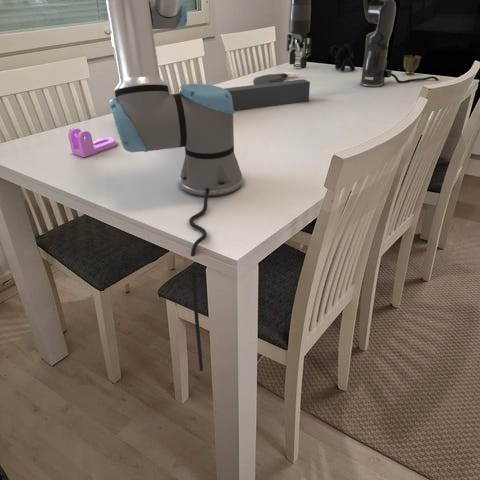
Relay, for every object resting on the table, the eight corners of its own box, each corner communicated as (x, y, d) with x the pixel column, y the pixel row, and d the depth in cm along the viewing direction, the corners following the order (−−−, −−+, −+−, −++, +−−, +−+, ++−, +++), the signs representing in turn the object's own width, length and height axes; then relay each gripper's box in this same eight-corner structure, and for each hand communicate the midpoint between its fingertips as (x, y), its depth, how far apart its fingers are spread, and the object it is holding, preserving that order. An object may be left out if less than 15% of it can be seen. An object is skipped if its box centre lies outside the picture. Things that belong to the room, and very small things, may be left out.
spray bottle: (250, 85, 197) (282, 75, 213) (270, 88, 191) (301, 78, 207) (250, 78, 195) (282, 69, 211) (271, 81, 189) (302, 72, 206)
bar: (124, 125, 151) (120, 104, 147) (121, 121, 155) (118, 100, 151) (308, 101, 174) (310, 81, 170) (302, 98, 177) (303, 79, 174)
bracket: (84, 157, 126) (79, 133, 123) (72, 153, 129) (66, 129, 126) (119, 144, 135) (116, 121, 131) (108, 140, 138) (104, 118, 134)
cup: (399, 75, 209) (402, 56, 205) (402, 71, 214) (405, 54, 210) (416, 76, 206) (419, 57, 202) (418, 73, 211) (422, 55, 207)
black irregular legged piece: (345, 81, 223) (323, 62, 226) (359, 67, 223) (338, 48, 225) (346, 70, 212) (324, 50, 215) (362, 55, 211) (339, 35, 214)
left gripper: (145, 52, 133) (153, 122, 145) (129, 41, 153) (138, 103, 164) (119, 54, 131) (130, 125, 142) (107, 43, 150) (117, 106, 162)
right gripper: (319, 19, 154) (315, 68, 163) (299, 15, 165) (297, 62, 174) (300, 20, 152) (297, 70, 161) (281, 17, 163) (280, 63, 172)
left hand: (134, 114), depth 153 cm, fingers open, 13 cm apart
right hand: (297, 66), depth 167 cm, fingers open, 8 cm apart
